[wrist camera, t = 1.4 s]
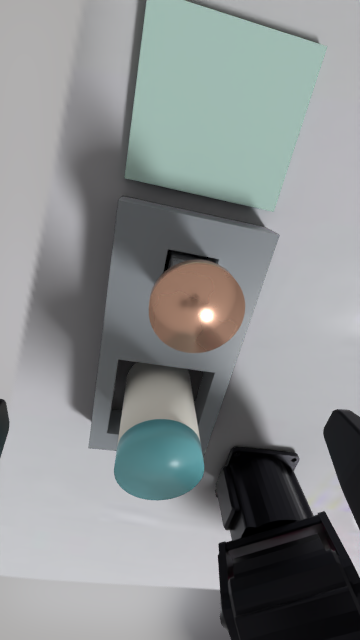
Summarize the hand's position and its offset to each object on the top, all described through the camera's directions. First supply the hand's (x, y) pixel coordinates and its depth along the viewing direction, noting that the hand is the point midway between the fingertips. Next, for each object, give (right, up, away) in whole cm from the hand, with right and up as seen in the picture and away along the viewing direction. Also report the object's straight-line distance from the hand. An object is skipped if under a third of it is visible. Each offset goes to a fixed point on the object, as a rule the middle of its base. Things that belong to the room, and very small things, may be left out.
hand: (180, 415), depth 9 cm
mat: (+2, +14, +8) cm, 16 cm away
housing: (-1, +1, +14) cm, 14 cm away
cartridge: (-2, -2, +16) cm, 16 cm away
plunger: (0, +5, +11) cm, 12 cm away
